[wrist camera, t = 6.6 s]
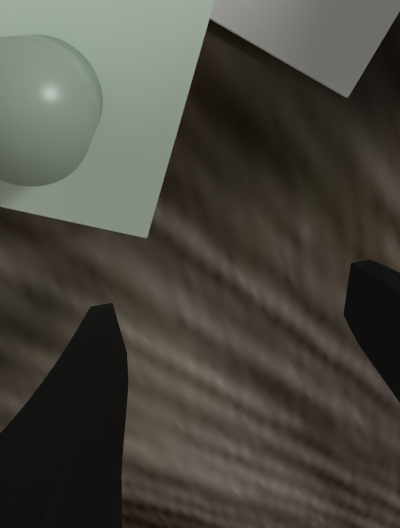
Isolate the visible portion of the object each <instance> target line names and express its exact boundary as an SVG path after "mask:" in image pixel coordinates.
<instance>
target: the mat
mask: <svg viewBox="0 0 400 528" xmlns="http://www.w3.org/2000/svg"><path fill="white" fill-rule="evenodd" d="M399 12H400V0H215V1H214V5H213V8H212V12H211V15H210V20H212V21H213V22H215V23H217V24H219V25H220V26H222V27H224V28H225V29H227V30H229V31H231V32H232V33H234V34H236V35H238V36H239V37H241V38H243V39H244V40H246V41H248V42H250V43H251V44H253V45H255V46H257V47H258V48H260V49H262V50H264V51H265V52H267V53H269V54H270V55H272V56H274V57H276V58H277V59H279V60H281V61H283V62H284V63H286V64H288V65H290V66H291V67H293V68H295V69H296V70H298V71H300V72H302V73H303V74H305V75H307V76H309V77H310V78H312V79H314V80H316V81H317V82H319V83H321V84H322V85H324V86H326V87H328V88H329V89H331V90H333V91H335V92H336V93H338V94H340V95H342V96H343V97H346V98H348V97H349V95H350V93H351V92H352V90H353V88H354V87H355V85H356V83H357V82H358V80H359V78H360V77H361V75H362V73H363V72H364V70H365V68H366V67H367V65H368V63H369V62H370V60H371V58H372V57H373V55H374V53H375V52H376V50H377V48H378V47H379V45H380V43H381V42H382V40H383V38H384V37H385V35H386V33H387V32H388V30H389V28H390V27H391V25H392V23H393V22H394V20H395V18H396V17H397V15H398V13H399Z"/></svg>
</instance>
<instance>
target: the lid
mask: <svg viewBox="0 0 400 528" xmlns="http://www.w3.org/2000/svg"><path fill="white" fill-rule="evenodd" d="M214 1H215V0H0V207H4V208H8V209H13V210H18V211H22V212H27V213H32V214H36V215H41V216H46V217H50V218H55V219H59V220H64V221H69V222H73V223H78V224H83V225H87V226H92V227H96V228H101V229H106V230H110V231H115V232H120V233H124V234H129V235H134V236H138V237H143V238H147V236H148V233H149V229H150V226H151V222H152V219H153V215H154V212H155V208H156V205H157V201H158V198H159V194H160V191H161V187H162V184H163V180H164V177H165V173H166V170H167V166H168V163H169V159H170V156H171V152H172V149H173V145H174V142H175V138H176V135H177V131H178V128H179V124H180V121H181V117H182V114H183V110H184V107H185V103H186V99H187V96H188V92H189V89H190V85H191V82H192V78H193V75H194V71H195V68H196V64H197V61H198V57H199V54H200V50H201V47H202V43H203V40H204V36H205V33H206V29H207V26H208V22H209V19H210V15H211V12H212V8H213V5H214Z"/></svg>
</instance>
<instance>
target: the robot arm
mask: <svg viewBox="0 0 400 528" xmlns="http://www.w3.org/2000/svg"><path fill="white" fill-rule="evenodd" d="M344 317H345V319H346V321H347V323H348V325H349V327H350V329H351V331H352V333H353V335H354V336H355V338H356V340H357V342H358V344H359V345H360V347H361V348H362V350H363V351H364V352H365V354H366V355H367V357H368V358H369V360H370V361H371V363H372V364H373V365H374V367H375V368H376V370H377V371H378V372H379V374H380V375H381V377H382V378H383V379H384V381H385V382H386V384H387V385H388V386H389V388H390V389H391V391H392V392H393V394H394V395H395V396H396V398H397V399H398V401H399V402H400V273H399V272H397V271H395V270H393V269H390V268H388V267H386V266H384V265H382V264H379V263H377V262H375V261H372V260H367V261H361V262H355V263H351V267H350V274H349V281H348V288H347V295H346V302H345V309H344ZM127 394H128V367H127V352H126V349H125V345H124V342H123V338H122V335H121V331H120V328H119V324H118V321H117V317H116V314H115V310H114V307H113V304H112V303H110V304H104V305H98V306H92V307H91V308H90V309H89V310H88V312H87V313H86V315H85V317H84V319H83V320H82V322H81V324H80V326H79V327H78V329H77V331H76V332H75V334H74V336H73V337H72V339H71V340H70V342H69V344H68V345H67V347H66V348H65V350H64V351H63V353H62V354H61V356H60V358H59V359H58V361H57V362H56V364H55V365H54V367H53V368H52V369H51V371H50V372H49V374H48V375H47V376H46V378H45V379H44V380H43V382H42V383H41V385H40V386H39V387H38V389H37V390H36V391H35V393H34V394H33V395H32V397H31V398H30V399H29V400H28V402H27V403H26V404H25V405H24V407H23V408H22V409H21V410H20V411H19V413H18V414H17V415H16V416H15V417H14V419H13V420H12V421H11V422H10V423H9V424H8V425H7V427H6V428H5V429H4V430H3V431H2V432H1V433H0V528H122V480H121V476H122V455H123V443H124V431H125V419H126V407H127Z"/></svg>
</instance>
